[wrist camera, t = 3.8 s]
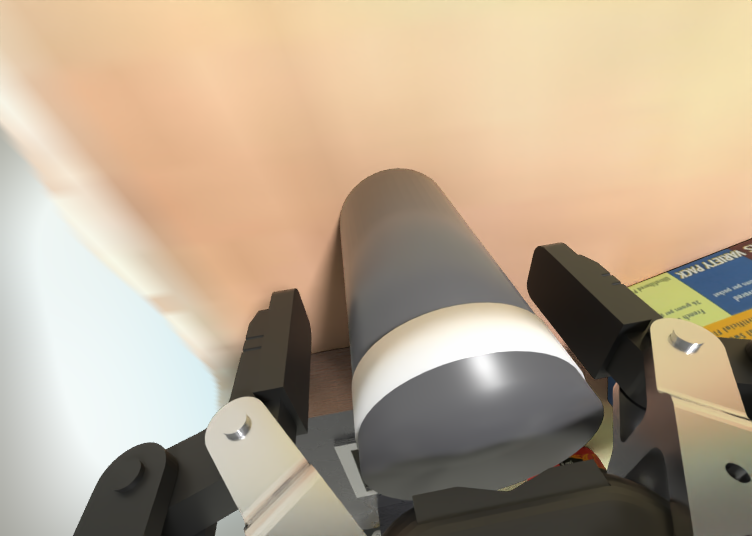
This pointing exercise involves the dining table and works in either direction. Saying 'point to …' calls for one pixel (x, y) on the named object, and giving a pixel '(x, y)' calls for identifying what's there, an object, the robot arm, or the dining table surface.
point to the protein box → (705, 294)
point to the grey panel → (342, 442)
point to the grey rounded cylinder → (448, 351)
